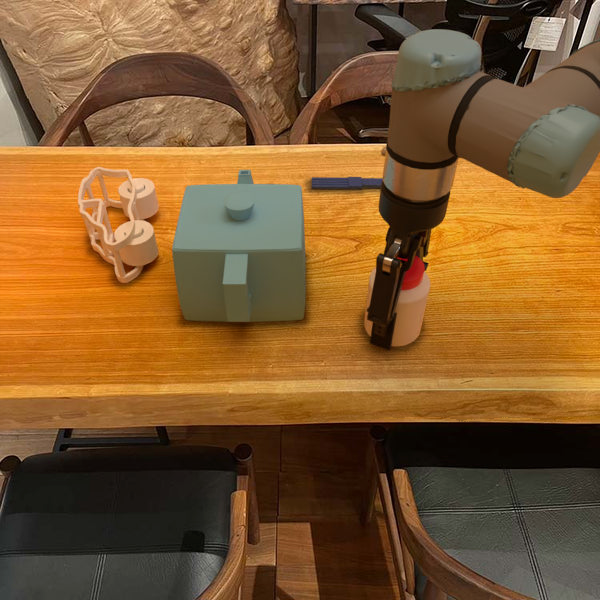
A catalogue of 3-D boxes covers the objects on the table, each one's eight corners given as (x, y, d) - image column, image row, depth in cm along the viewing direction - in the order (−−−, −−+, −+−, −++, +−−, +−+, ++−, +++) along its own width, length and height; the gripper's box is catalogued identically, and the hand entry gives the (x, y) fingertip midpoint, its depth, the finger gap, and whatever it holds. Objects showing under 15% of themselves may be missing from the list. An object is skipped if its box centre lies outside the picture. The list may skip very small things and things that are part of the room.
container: (177, 347, 77) (156, 261, 66) (199, 227, 95) (185, 143, 83) (306, 347, 77) (307, 260, 66) (304, 227, 95) (305, 142, 84)
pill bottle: (386, 355, 76) (396, 296, 68) (352, 317, 81) (358, 258, 73) (432, 332, 79) (447, 273, 71) (397, 297, 84) (407, 237, 76)
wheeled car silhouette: (160, 279, 86) (151, 241, 81) (83, 287, 85) (69, 249, 80) (160, 198, 100) (152, 161, 95) (94, 205, 99) (82, 167, 93)
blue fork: (429, 180, 103) (429, 177, 103) (431, 190, 102) (431, 186, 101) (311, 180, 104) (311, 176, 103) (311, 189, 102) (311, 185, 101)
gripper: (416, 131, 71) (394, 269, 87) (344, 227, 58) (334, 366, 75) (477, 147, 68) (442, 285, 85) (416, 250, 56) (389, 389, 72)
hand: (392, 323), depth 80 cm, fingers closed on pill bottle, 8 cm apart
